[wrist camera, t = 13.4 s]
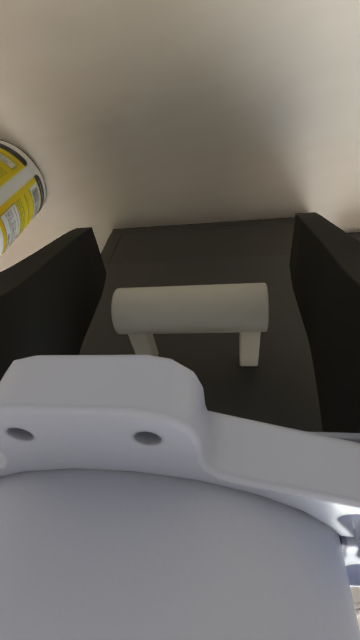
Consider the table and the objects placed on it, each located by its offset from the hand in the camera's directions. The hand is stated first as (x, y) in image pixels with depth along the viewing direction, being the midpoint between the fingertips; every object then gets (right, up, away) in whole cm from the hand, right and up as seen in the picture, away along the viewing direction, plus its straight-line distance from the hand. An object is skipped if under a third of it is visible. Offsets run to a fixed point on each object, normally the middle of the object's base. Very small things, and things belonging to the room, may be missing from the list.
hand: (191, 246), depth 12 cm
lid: (0, -4, +2) cm, 5 cm away
